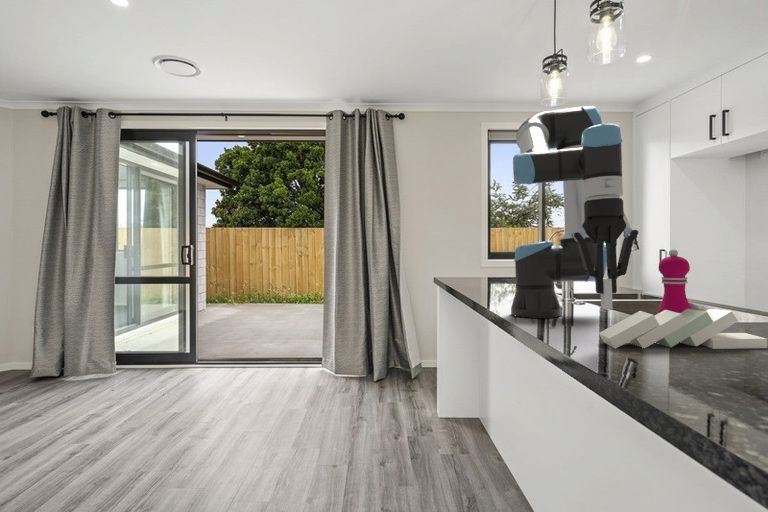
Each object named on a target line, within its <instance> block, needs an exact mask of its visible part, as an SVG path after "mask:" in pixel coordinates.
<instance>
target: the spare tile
mask: <svg viewBox="0 0 768 512" xmlns="http://www.w3.org/2000/svg"><path fill="white" fill-rule="evenodd" d="M692 309H693V308H692ZM692 309H686V310H684V311H683V312H681V313H680V314H682V316H683V317H684V319H685V320H686V322H687V323H688V324H687V325H685V326H683V327H681V328H680V329H678V330H676V331H674V332H672V333H671V334H669V335H667V336H665V337H664V338H662V339H660V340H658V341H657V342H656V343H655V344H657V343H659V344H658V345H660V344H662V345H661V346H664V345H665V347H668V348H670V349H671V348H673V347H675V346H676V345H678V344H680V343H679V342H681V341H683V340H684V339H686V338H688V337H689V336H691V335H693V334H694V333H696V332H697V331H699V330H701V329H702V328H704V327H706V326H707V325H709V324H711V323H712V322H713V320H712V319H711V317H710V316H709V314H708V313H707V312H706V311H707V310H705V311H704V310H697V309H693V310H692Z"/></svg>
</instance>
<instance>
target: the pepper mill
mask: <svg viewBox="0 0 768 512" xmlns="http://www.w3.org/2000/svg"><path fill="white" fill-rule="evenodd" d="M678 255H679V251H678V250H676V249H671V250H669V252H668V256H666V257H664V258H662V259H661V260H660V261H659V263H658V271H659V272H660V274H661V275H662V276H663V277H661V284H663V290H664V291H663V297H662V300H661V302H660V304H659V307H658V310H657V313H656V315H657V314H658V313H660V312H662V311H664V310H668V311H672V312H676V313H681V312H683V311H684V310H686V309H692V310H694V309H693V308H692V306H691V304H690V303H689V300H688V298H687V297H688V296H687V294H686V284H688V277H687V276H686V275H687V274H688V273H689V271H690V269H691V266H690V263H689V261H688V260H687V259H686V258H684V257H683V256H678Z"/></svg>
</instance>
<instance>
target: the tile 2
mask: <svg viewBox="0 0 768 512" xmlns="http://www.w3.org/2000/svg"><path fill="white" fill-rule="evenodd" d="M654 317H655V318H656V320H657V321H658V323H659V324H660V325H659V326H657V327H655V328H653V329H651V330H649V331H648V332H646V333H644V334H642V335H640V336H638V337H636V338H634V339H632V340H631V341H629V343H630V342H631V343H630V344H632V343H633V344H632V345H634V344H635V345H634V346H636V345H637V346H636V347H638V346H640V347H642V348H641V349H643V348H644V349H646V348H648V347H650V346H651V345H653V344H654V343H655V342H657V341H658V340H660V339H662V338H664V337H665V336H667V335H669V334H671V333H672V332H674V331H676V330H678V329H680V328H681V327H683V326H685V325H687V324H688V323H687V322H686V320H685V319H684V317H683V316H682V314H680V313H676V312H672V311H668V310H664V311H662V312H660V313H658V314H657V313H656V314H655V315H654ZM655 344H656V343H655ZM640 347H639V348H640Z"/></svg>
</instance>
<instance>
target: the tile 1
mask: <svg viewBox="0 0 768 512" xmlns="http://www.w3.org/2000/svg"><path fill="white" fill-rule="evenodd" d="M654 316H655V315H654V314H652V313H648V312H645V311H642V310H639V311H637V312H634V313H633V314H631V315H629V316H628V317H626V318H624V319H622V320H621V321H618V322H616V323H615V324H613V325H611V326H609V327H607V328H606V329H603V330H601V331H600V332H598V335H599V337H600V338H601V340H602V341H603V343H604V344H606V345H608V346H610V347H611V348H614V349H618V348H619V347H621V346H623V345H625V344H627V343H628V342H629V341H631V340H632V339H634V338H636V337H638V336H640V335H642V334H644V333H646V332H648V331H649V330H651V329H653V328H655V327H657V326H659V325H660V324H659V323H658V321H657V320H656V318H655V317H654ZM629 343H630V342H629Z"/></svg>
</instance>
